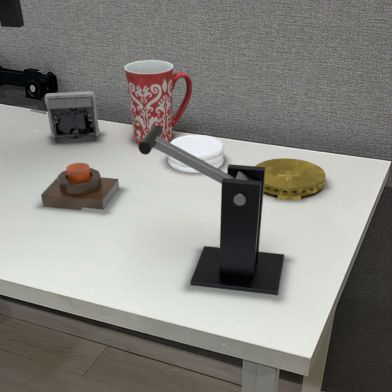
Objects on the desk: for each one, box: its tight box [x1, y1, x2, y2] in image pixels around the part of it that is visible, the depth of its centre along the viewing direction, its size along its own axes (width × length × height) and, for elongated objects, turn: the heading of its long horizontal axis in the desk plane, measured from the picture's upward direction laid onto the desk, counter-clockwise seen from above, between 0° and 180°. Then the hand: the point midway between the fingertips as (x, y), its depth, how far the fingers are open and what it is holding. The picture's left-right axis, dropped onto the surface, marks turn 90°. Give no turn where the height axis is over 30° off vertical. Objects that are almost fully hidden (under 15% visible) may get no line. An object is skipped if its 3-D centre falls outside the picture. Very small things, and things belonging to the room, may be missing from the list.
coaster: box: [167, 134, 225, 174], centre depth 100 cm, size 10×10×4 cm
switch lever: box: [138, 125, 256, 185], centre depth 65 cm, size 14×6×2 cm, turn 78°
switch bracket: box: [189, 164, 285, 296], centre depth 69 cm, size 11×9×14 cm
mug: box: [123, 59, 193, 145], centre depth 106 cm, size 13×9×14 cm
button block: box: [40, 167, 120, 211], centre depth 89 cm, size 10×8×4 cm
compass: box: [255, 157, 326, 201], centre depth 94 cm, size 12×12×2 cm
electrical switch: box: [44, 90, 100, 143], centre depth 107 cm, size 9×5×9 cm, turn 99°
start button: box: [65, 162, 91, 182], centre depth 88 cm, size 4×4×2 cm
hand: (12, 25), depth 76 cm, fingers closed
